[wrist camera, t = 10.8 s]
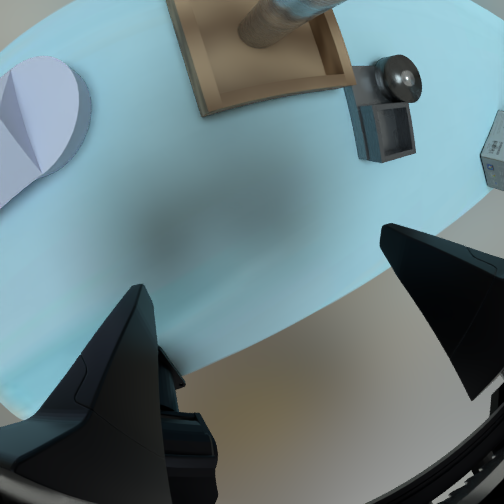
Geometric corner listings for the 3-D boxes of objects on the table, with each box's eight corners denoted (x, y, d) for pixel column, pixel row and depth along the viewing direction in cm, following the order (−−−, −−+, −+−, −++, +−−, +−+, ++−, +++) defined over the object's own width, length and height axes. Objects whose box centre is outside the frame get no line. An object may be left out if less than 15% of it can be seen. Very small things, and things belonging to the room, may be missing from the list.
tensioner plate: (411, 145, 25) (435, 149, 22) (359, 159, 24) (384, 164, 20) (393, 60, 20) (417, 56, 17) (335, 58, 19) (360, 50, 16)
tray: (333, 89, 20) (356, 84, 17) (201, 117, 18) (208, 112, 15) (296, -18, 15) (313, -32, 12) (163, -5, 13) (166, -25, 10)
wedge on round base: (-7, 221, 15) (107, 139, 17) (-48, 250, 9) (82, 137, 11) (-36, 137, 11) (75, 47, 12) (-81, 142, 5) (46, 15, 7)
